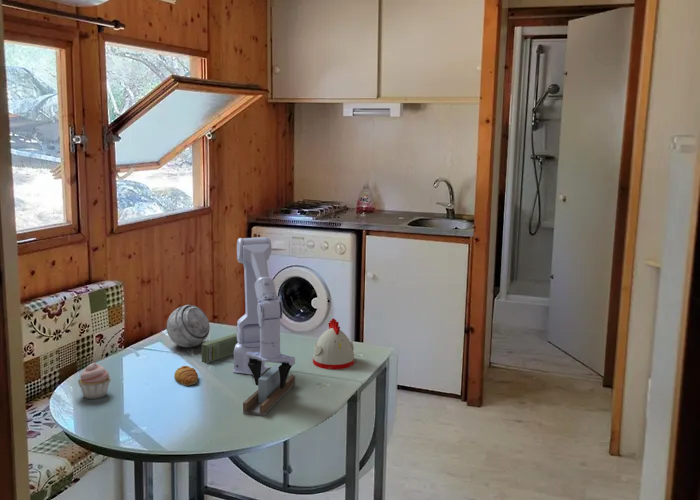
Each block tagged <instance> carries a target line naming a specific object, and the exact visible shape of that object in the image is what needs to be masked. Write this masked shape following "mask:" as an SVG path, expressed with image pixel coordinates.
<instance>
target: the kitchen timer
mask: <svg viewBox="0 0 700 500" xmlns="http://www.w3.org/2000/svg"><path fill="white" fill-rule="evenodd" d="M327 324H328V329H327V330H326V331H324V332H323V333H322V334H321V335H320V336H319V338H318V339H317V341H316V342H314V347H313V356H312V364H313V365H314V366H315V367H317V368H320V369H324V370H325V369H326V370H343V369H346V368H347V369H348V368H350V367H352V366H353V365H354V364H355V353H354V350H355V349H354V342H353V341H350V338H349V337H348V336H347V335H346V333H345V332H344V331H343V330H341V326H339V321H337V319H335V318H331V320H329V322H328V323H327Z"/></svg>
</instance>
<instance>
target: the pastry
mask: <svg viewBox="0 0 700 500" xmlns="http://www.w3.org/2000/svg"><path fill="white" fill-rule="evenodd" d="M173 375H174V380H175V381H176V382H177V383H179V384H180V385H183V386H186V387H187V386H191V385H196V384H197V382H198V381H199V374H198V372H197V371H196V369H195V368H194V367H191V366H188V365H182V366H181V367H179V368H177V369H176V370H175V372H174V374H173Z"/></svg>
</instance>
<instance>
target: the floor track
mask: <svg viewBox="0 0 700 500" xmlns="http://www.w3.org/2000/svg"><path fill="white" fill-rule="evenodd" d="M294 386H296V375H294V374H291V375H290V376H288V377H287V379H286V384H285V387H284V388H283V389H281V388H280V387H279V388H278V389H277V390H275V391H274V392H273V393H272V394H271V395H270V396H269V397H268V398H267V399H266V400H265V401H264V402H263V403H258V389H257V390H256V391H255V392H254V393H252V395H250V396H249V397H248V398H247V399H245V401H243V402H242V411H243V412H242V413H243V414H245V415H246V414H248V415H253V416H254V415H255V416H260V417H264V416H265V415H266V414H267V413H268V412H269V411H270V410H271V409H272V408H273V407H274V406H275V405H276V404H277V403H278V402H279V401H280V400H281V399H283V397H284V396H285V395H286V394H287V393H288V392H289V391H291V389H292V388H293V387H294Z"/></svg>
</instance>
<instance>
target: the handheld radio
mask: <svg viewBox="0 0 700 500" xmlns="http://www.w3.org/2000/svg"><path fill="white" fill-rule="evenodd" d="M237 343H238V341H237V333H236V332H235V333H233V334H229V335H226V336H222V337H219V338H216V339H213V340H210V341H206V342H202V343H201V363H203V362H204V364H208V363H211V362H213V361H216V360H217V361H218V360H220V359H223V358H225V357H228V356H229V357H230V356H232V355H234V348H235V346H236V344H237Z"/></svg>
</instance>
